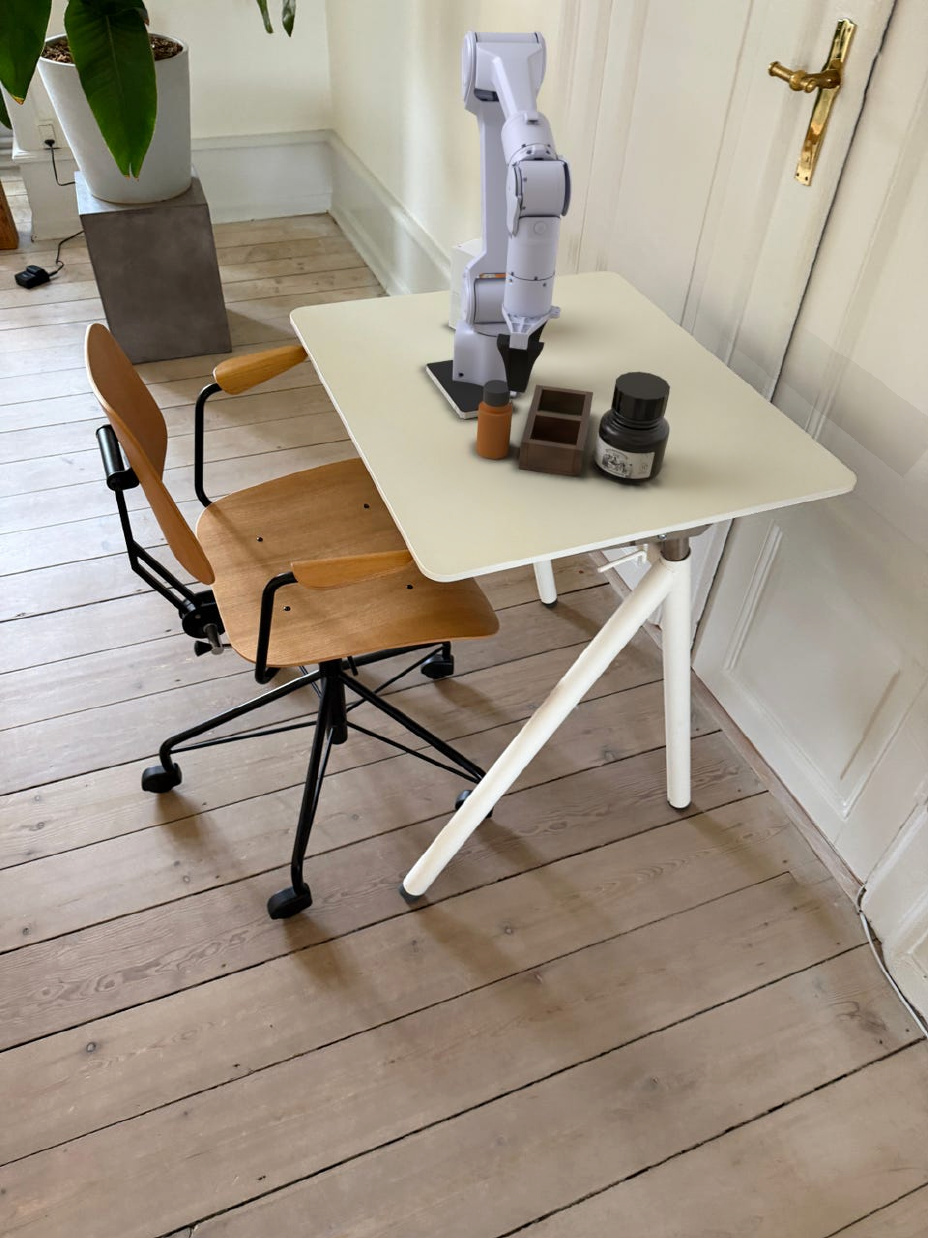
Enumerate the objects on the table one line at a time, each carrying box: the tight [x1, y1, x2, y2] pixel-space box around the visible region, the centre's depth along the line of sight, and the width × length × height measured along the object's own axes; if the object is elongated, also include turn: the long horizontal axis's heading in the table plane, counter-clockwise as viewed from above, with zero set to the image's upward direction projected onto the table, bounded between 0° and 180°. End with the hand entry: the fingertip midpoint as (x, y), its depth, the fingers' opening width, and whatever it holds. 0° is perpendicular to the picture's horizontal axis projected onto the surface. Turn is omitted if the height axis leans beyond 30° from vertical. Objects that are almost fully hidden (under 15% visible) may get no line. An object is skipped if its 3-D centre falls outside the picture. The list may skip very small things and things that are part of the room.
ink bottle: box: [593, 371, 671, 485], centre depth 118 cm, size 10×9×12 cm
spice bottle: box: [475, 380, 514, 460], centre depth 121 cm, size 4×4×10 cm
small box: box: [448, 236, 506, 331], centre depth 146 cm, size 8×6×13 cm
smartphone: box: [425, 359, 513, 420], centre depth 135 cm, size 8×1×15 cm
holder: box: [518, 384, 594, 478], centre depth 125 cm, size 8×15×4 cm, turn 169°
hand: (520, 375), depth 118 cm, fingers open, 7 cm apart
